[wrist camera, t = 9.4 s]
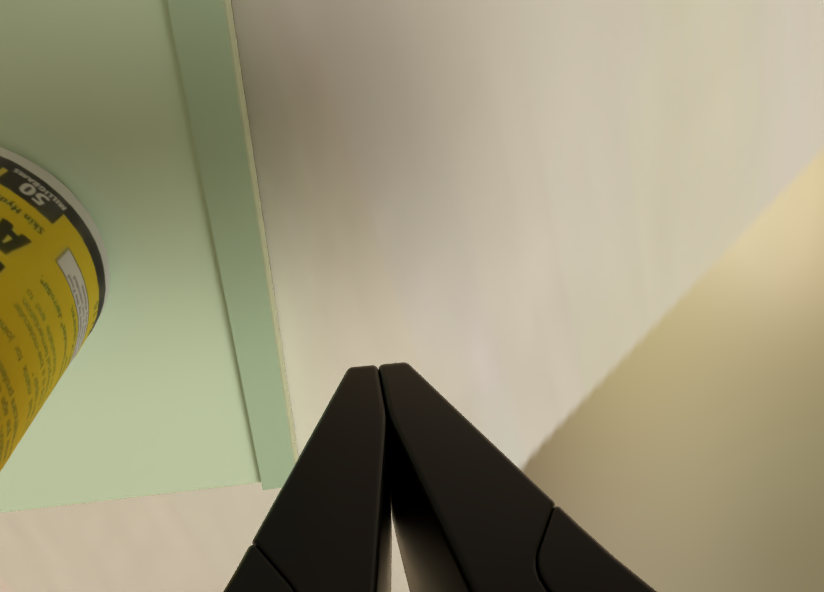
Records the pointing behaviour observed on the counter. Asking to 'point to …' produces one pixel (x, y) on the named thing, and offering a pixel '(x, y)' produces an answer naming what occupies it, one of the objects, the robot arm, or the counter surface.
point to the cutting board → (150, 252)
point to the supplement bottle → (42, 289)
